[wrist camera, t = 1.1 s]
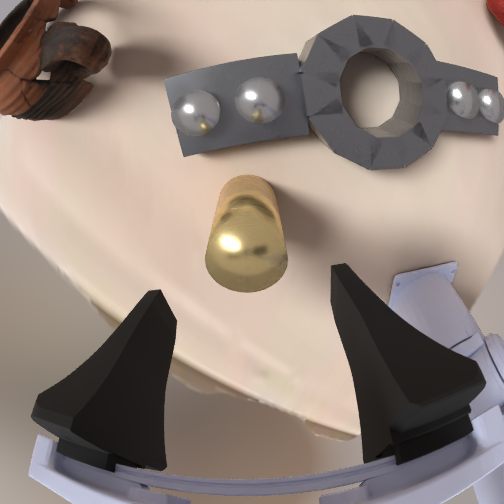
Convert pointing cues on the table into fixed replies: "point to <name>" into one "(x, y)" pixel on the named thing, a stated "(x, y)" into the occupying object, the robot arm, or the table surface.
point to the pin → (246, 237)
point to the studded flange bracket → (334, 97)
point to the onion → (497, 9)
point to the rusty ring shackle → (46, 61)
